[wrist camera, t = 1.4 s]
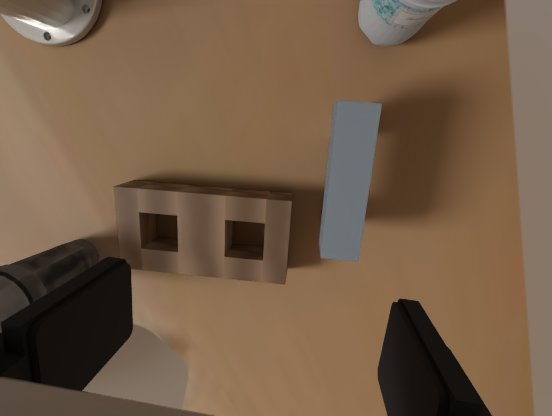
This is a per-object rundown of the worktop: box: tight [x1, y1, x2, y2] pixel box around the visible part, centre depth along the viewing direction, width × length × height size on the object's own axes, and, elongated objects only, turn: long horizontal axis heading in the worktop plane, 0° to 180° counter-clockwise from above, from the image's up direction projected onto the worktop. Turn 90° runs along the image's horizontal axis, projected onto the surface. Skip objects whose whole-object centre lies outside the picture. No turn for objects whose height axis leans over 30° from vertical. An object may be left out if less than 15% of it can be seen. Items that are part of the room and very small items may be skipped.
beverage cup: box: [0, 240, 98, 333], centre depth 32 cm, size 7×7×20 cm
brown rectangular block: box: [114, 180, 293, 284], centre depth 36 cm, size 20×10×4 cm, turn 86°
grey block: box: [319, 101, 382, 262], centre depth 31 cm, size 14×4×9 cm, turn 176°
